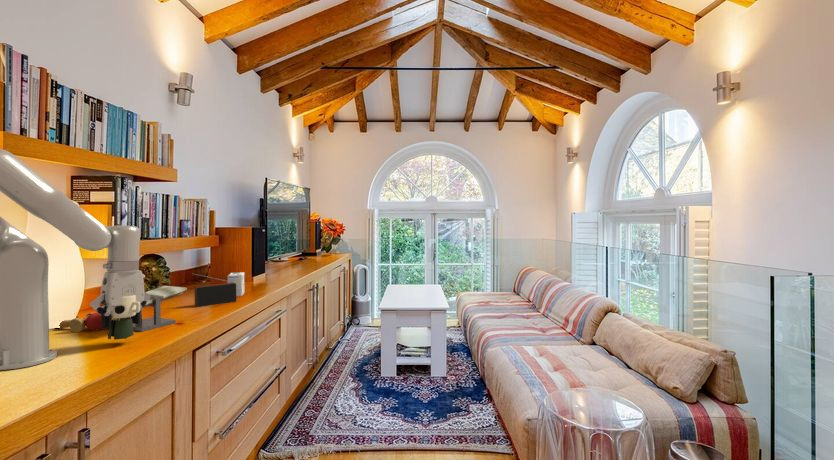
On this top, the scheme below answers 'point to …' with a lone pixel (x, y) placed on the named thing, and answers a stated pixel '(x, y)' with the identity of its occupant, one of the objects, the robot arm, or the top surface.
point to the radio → (215, 294)
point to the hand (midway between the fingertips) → (121, 325)
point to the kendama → (83, 323)
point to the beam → (163, 294)
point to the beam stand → (153, 319)
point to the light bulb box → (237, 282)
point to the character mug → (123, 318)
